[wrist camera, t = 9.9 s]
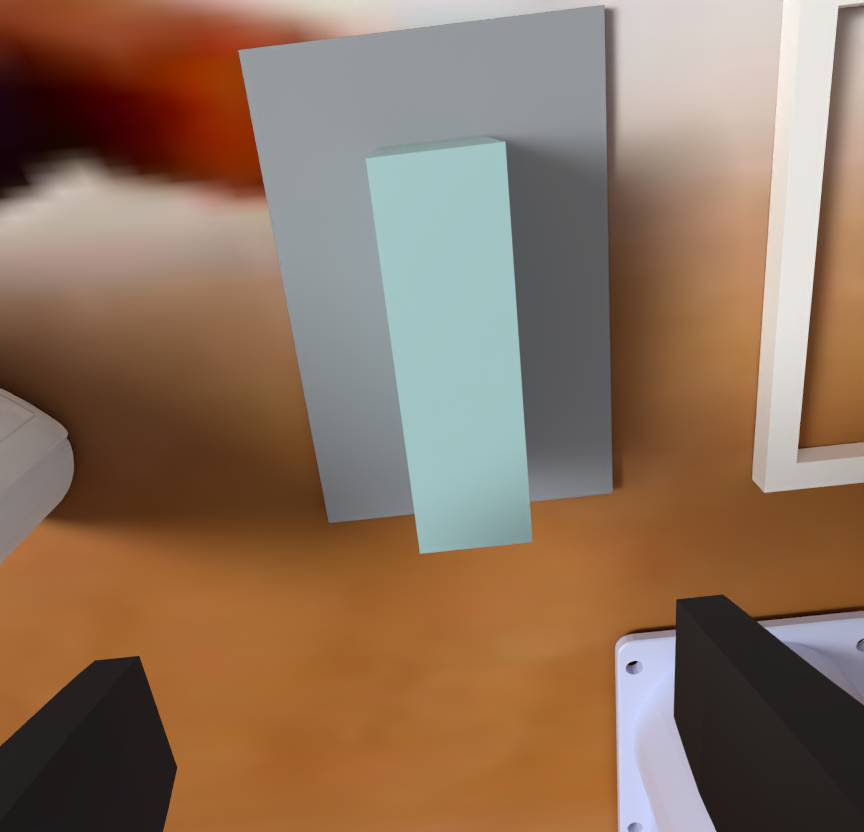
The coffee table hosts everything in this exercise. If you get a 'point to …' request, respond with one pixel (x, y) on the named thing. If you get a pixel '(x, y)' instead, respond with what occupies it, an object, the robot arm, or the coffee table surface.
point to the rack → (796, 256)
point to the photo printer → (29, 469)
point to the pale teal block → (454, 337)
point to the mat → (357, 243)
